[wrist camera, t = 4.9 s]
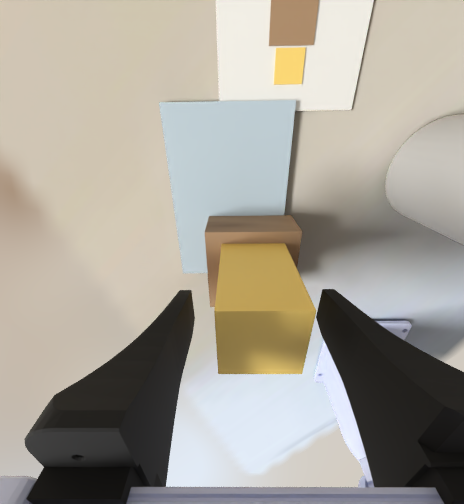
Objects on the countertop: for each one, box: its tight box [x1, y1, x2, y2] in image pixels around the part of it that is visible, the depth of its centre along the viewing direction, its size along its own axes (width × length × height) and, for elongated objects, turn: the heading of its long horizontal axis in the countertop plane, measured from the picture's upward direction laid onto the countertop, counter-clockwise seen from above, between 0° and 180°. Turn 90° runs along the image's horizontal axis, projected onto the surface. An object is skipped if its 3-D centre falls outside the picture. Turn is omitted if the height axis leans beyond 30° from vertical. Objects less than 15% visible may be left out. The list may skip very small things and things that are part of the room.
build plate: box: [159, 100, 296, 273], centre depth 16 cm, size 12×8×1 cm, turn 1°
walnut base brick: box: [204, 215, 302, 307], centre depth 16 cm, size 6×6×3 cm
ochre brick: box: [214, 243, 316, 374], centre depth 12 cm, size 4×4×6 cm
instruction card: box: [216, 0, 374, 111], centre depth 12 cm, size 6×8×1 cm
